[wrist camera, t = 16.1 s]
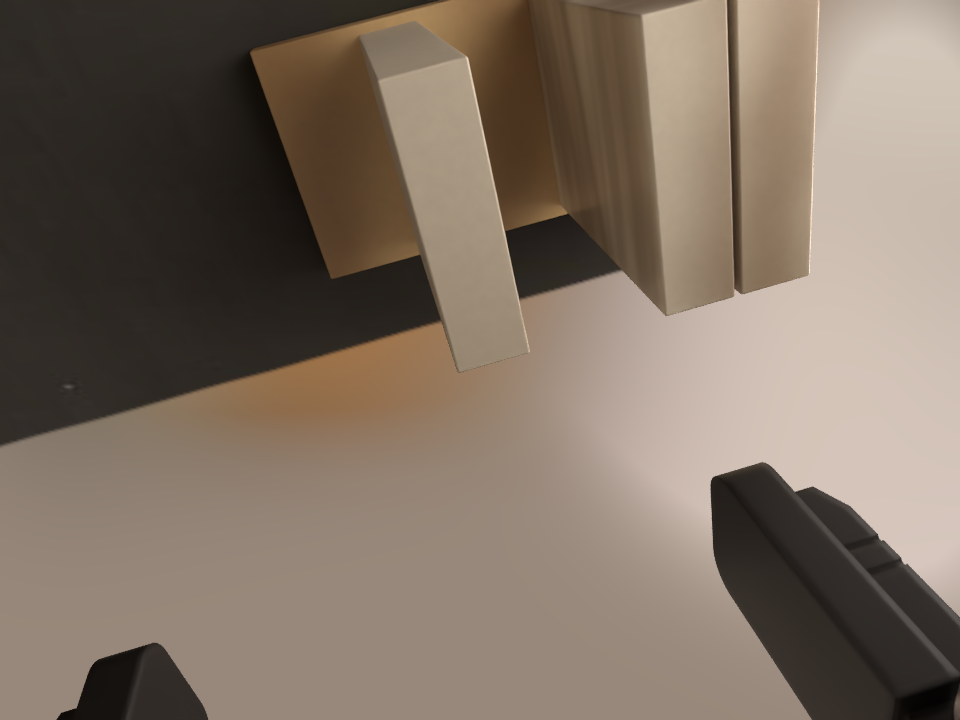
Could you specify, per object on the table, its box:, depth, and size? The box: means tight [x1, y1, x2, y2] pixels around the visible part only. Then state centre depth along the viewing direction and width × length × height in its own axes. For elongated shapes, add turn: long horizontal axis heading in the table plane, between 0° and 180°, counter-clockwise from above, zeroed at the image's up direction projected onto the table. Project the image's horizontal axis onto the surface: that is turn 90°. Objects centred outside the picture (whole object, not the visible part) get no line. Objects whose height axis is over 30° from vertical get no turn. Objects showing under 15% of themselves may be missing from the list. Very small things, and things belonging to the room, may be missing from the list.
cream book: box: [358, 21, 529, 373], centre depth 25 cm, size 2×9×12 cm, turn 12°
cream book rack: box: [250, 0, 819, 316], centre depth 26 cm, size 18×10×13 cm, turn 102°
